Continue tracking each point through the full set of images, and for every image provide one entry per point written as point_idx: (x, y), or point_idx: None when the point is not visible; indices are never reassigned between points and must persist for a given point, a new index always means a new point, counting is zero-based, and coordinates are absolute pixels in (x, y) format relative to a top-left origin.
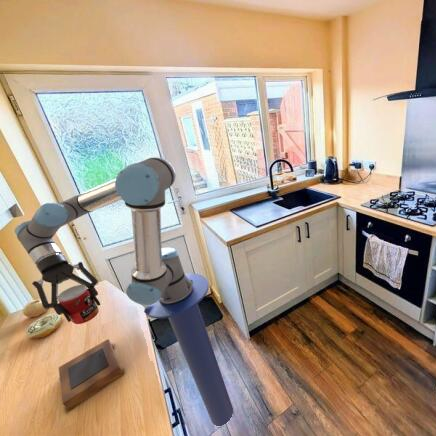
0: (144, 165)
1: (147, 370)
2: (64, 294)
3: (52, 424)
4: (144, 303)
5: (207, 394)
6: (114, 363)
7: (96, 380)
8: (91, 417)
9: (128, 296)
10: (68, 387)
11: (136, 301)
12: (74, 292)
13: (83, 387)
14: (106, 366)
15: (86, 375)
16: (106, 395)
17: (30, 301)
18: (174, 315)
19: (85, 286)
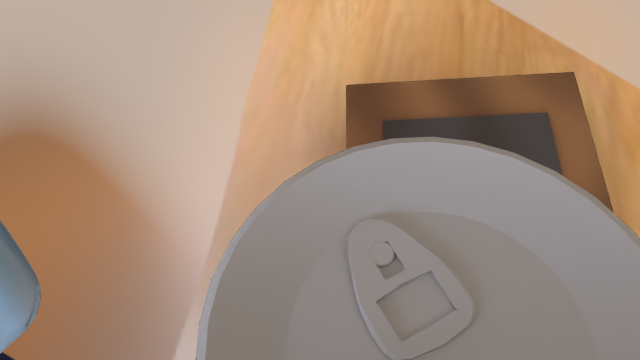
0: None
1: (271, 70)
2: None
3: (613, 95)
4: (14, 241)
5: None
6: (359, 116)
7: (442, 83)
8: (478, 33)
9: (17, 258)
10: (561, 133)
11: (28, 263)
12: (400, 321)
13: (494, 87)
14: (393, 119)
15: (482, 135)
16: (424, 75)
17: None
18: (4, 353)
19: (200, 332)
